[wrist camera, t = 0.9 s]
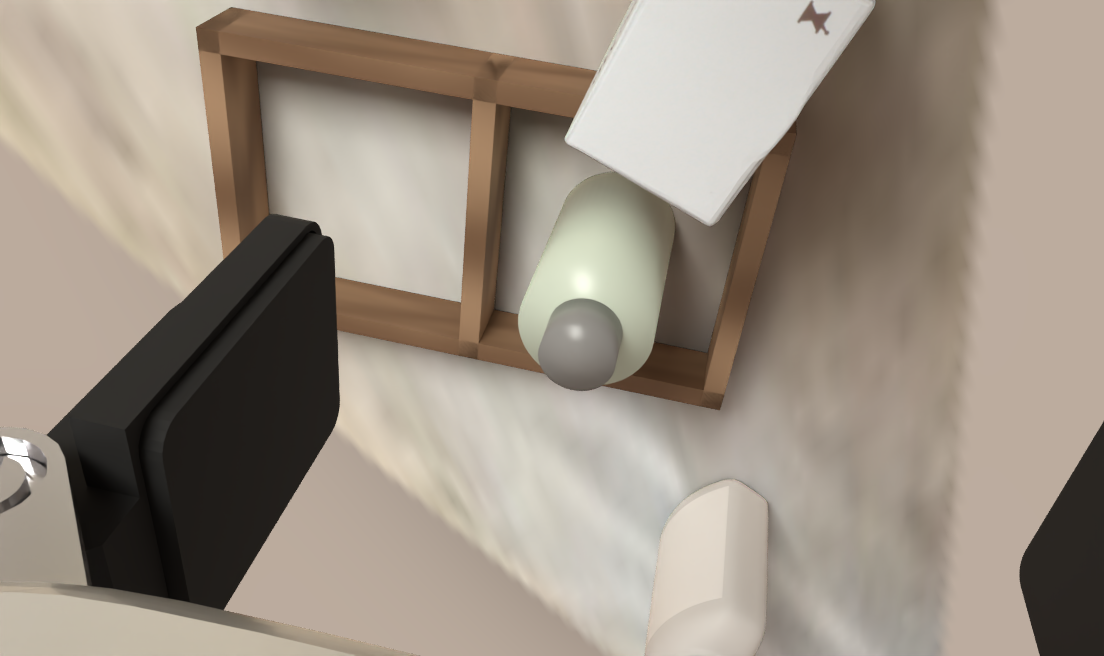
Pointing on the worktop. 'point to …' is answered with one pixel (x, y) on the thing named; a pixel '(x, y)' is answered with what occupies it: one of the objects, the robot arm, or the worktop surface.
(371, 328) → the wooden frame
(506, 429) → the worktop surface
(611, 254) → the sage bottle
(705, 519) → the eye dropper bottle
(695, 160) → the skincare box
